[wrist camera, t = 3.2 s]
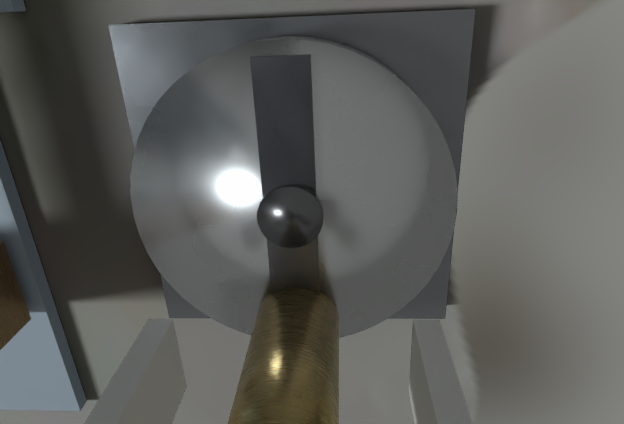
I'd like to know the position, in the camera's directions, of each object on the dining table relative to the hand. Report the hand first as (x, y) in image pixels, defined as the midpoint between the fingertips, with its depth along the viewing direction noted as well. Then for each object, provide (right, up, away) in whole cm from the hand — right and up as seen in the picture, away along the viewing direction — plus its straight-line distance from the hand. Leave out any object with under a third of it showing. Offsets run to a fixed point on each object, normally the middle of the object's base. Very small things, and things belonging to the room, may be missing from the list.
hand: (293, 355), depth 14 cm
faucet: (0, +5, +2) cm, 5 cm away
